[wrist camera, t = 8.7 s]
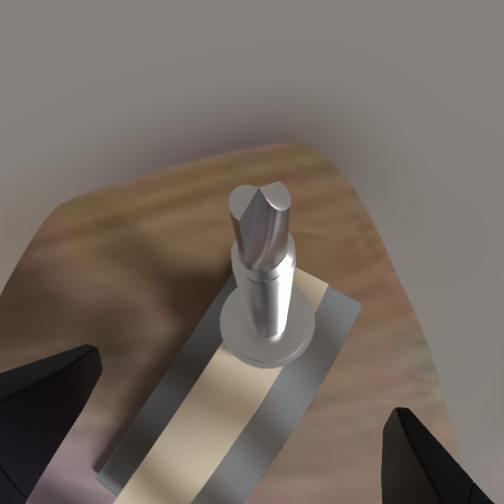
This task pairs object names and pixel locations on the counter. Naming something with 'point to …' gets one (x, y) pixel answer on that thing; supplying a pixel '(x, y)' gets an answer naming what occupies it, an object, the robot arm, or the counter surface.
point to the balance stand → (223, 411)
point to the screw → (265, 282)
